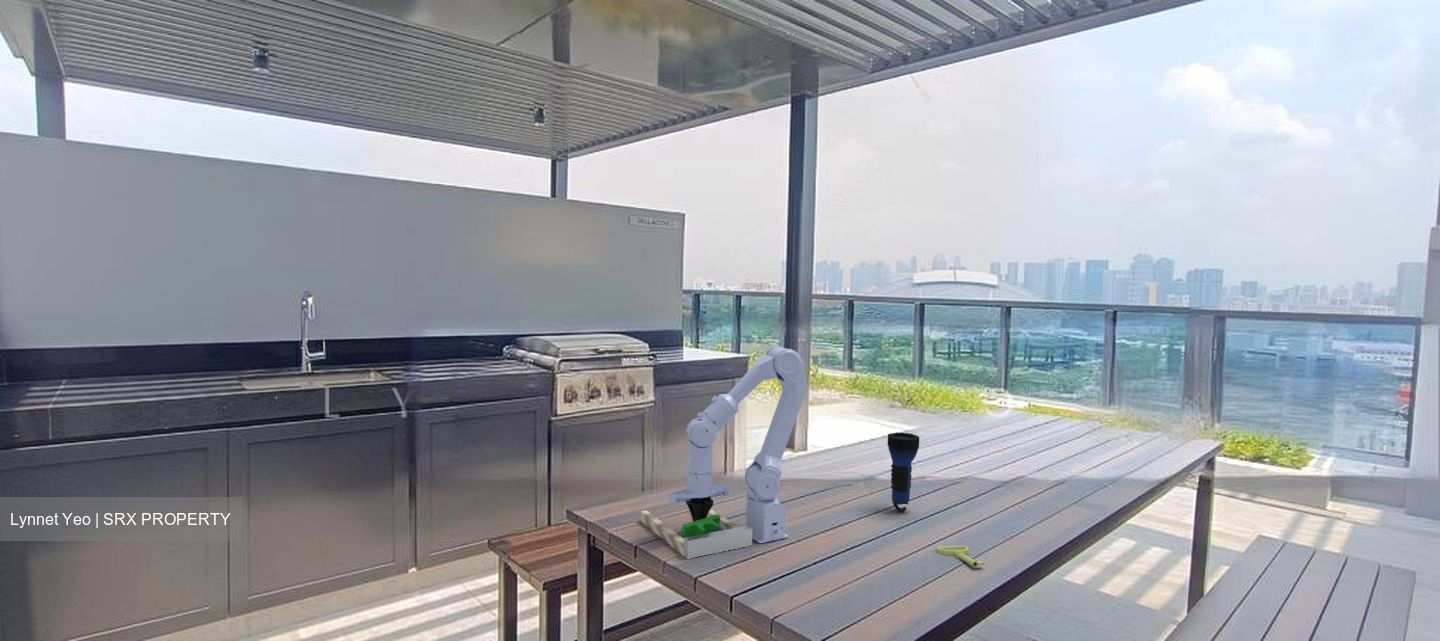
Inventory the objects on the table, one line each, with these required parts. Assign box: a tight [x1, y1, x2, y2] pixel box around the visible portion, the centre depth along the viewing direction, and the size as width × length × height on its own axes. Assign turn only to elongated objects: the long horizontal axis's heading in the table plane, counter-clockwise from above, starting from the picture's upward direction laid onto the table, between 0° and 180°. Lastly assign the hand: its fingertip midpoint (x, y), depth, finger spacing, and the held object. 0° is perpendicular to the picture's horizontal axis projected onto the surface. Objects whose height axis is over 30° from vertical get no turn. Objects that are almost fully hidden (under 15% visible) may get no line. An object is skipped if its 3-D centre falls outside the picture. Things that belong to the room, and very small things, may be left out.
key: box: [935, 545, 985, 568], centre depth 139 cm, size 7×12×2 cm, turn 26°
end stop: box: [683, 525, 753, 560], centre depth 140 cm, size 2×16×4 cm, turn 119°
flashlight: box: [887, 432, 920, 512], centre depth 168 cm, size 8×8×20 cm
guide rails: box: [640, 508, 740, 557], centre depth 152 cm, size 24×16×2 cm, turn 29°
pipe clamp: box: [680, 513, 721, 538], centre depth 145 cm, size 10×4×4 cm, turn 133°
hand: (698, 529), depth 148 cm, fingers closed
